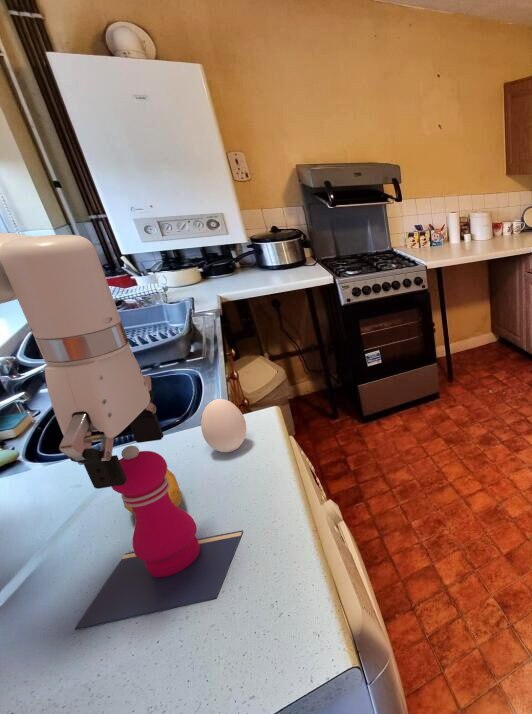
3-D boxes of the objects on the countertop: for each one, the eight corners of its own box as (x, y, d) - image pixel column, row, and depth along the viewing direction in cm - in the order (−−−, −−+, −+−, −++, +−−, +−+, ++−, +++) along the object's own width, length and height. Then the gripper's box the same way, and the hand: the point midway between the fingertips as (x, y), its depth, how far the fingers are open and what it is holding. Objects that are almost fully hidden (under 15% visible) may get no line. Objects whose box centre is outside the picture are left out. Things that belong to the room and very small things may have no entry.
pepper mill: (213, 552, 65) (172, 441, 58) (157, 590, 60) (103, 472, 52) (190, 532, 69) (149, 425, 62) (135, 566, 63) (82, 452, 56)
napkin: (74, 630, 55) (73, 628, 55) (126, 554, 66) (125, 552, 66) (216, 598, 59) (216, 596, 59) (243, 531, 70) (242, 529, 69)
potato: (136, 543, 68) (120, 508, 65) (126, 498, 77) (111, 465, 75) (191, 518, 72) (178, 484, 70) (175, 478, 82) (163, 447, 79)
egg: (207, 465, 85) (189, 413, 81) (213, 444, 92) (197, 396, 87) (250, 454, 88) (235, 404, 84) (253, 435, 95) (239, 387, 90)
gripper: (92, 321, 59) (133, 430, 65) (-15, 378, 43) (53, 513, 49) (156, 316, 60) (191, 422, 67) (76, 369, 45) (131, 500, 51)
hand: (132, 461), depth 58 cm, fingers open, 9 cm apart
